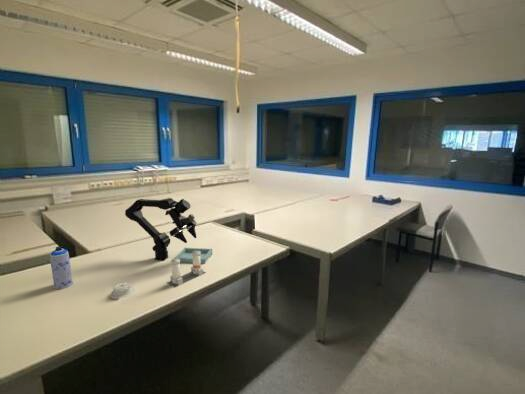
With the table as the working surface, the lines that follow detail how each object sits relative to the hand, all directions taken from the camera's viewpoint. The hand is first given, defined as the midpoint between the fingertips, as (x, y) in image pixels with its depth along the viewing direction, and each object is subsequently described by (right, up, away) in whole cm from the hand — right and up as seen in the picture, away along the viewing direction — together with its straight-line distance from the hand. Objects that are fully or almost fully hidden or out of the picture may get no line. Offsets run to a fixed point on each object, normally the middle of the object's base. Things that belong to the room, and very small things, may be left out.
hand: (191, 240), depth 163 cm
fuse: (-2, -18, -21) cm, 28 cm away
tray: (-1, -13, +10) cm, 16 cm away
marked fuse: (+6, -16, -10) cm, 20 cm away
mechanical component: (-25, -21, -30) cm, 44 cm away
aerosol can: (-58, -19, -23) cm, 65 cm away
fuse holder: (+2, -18, -15) cm, 24 cm away
